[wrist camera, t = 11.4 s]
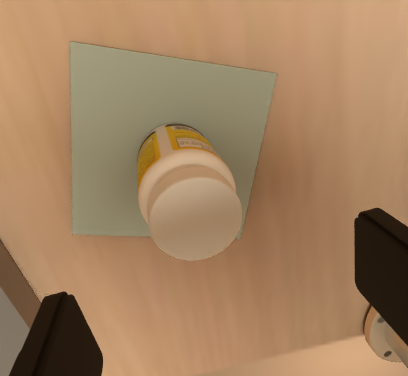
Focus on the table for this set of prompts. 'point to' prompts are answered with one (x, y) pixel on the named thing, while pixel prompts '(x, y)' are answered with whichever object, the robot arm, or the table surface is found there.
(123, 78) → the rubber mat
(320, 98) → the table surface
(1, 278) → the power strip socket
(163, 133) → the supplement bottle
